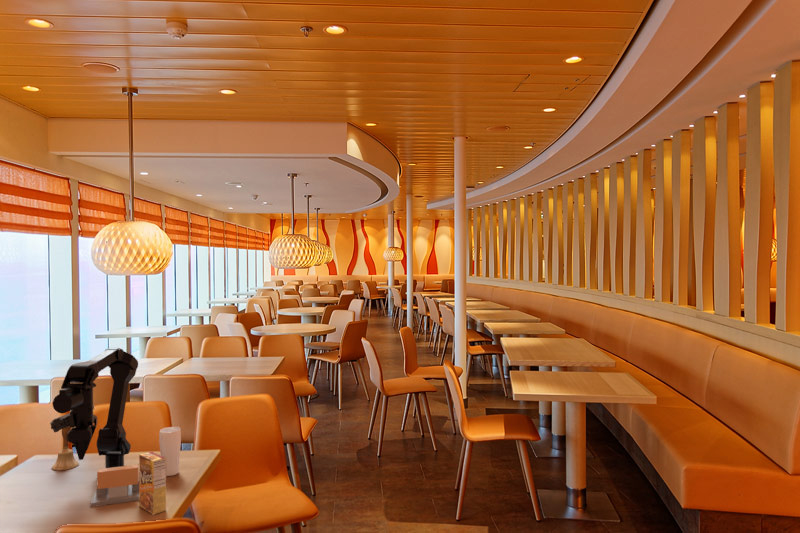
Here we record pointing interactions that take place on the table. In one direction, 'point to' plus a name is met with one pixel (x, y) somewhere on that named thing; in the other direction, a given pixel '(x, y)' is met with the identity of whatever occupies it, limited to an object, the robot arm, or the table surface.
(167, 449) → the drinking glass
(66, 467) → the hand bell
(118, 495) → the display stand
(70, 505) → the table surface
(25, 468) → the table surface
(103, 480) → the orange bracket
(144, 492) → the candy box
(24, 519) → the table surface
